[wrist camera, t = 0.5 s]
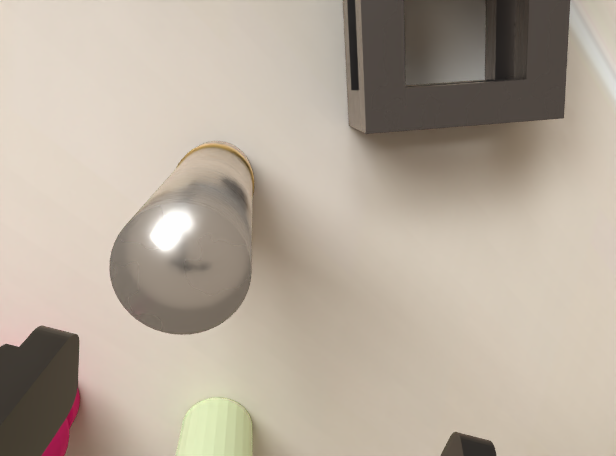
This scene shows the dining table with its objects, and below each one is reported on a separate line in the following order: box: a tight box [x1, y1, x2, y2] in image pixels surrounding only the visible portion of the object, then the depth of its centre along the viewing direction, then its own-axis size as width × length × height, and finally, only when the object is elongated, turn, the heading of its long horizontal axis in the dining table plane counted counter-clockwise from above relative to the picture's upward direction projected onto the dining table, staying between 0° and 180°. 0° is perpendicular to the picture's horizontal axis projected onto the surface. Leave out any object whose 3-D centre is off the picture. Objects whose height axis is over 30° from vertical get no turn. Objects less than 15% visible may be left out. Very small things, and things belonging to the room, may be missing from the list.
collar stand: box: [343, 0, 570, 134], centre depth 31 cm, size 11×11×6 cm
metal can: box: [110, 141, 254, 334], centre depth 26 cm, size 5×5×18 cm
